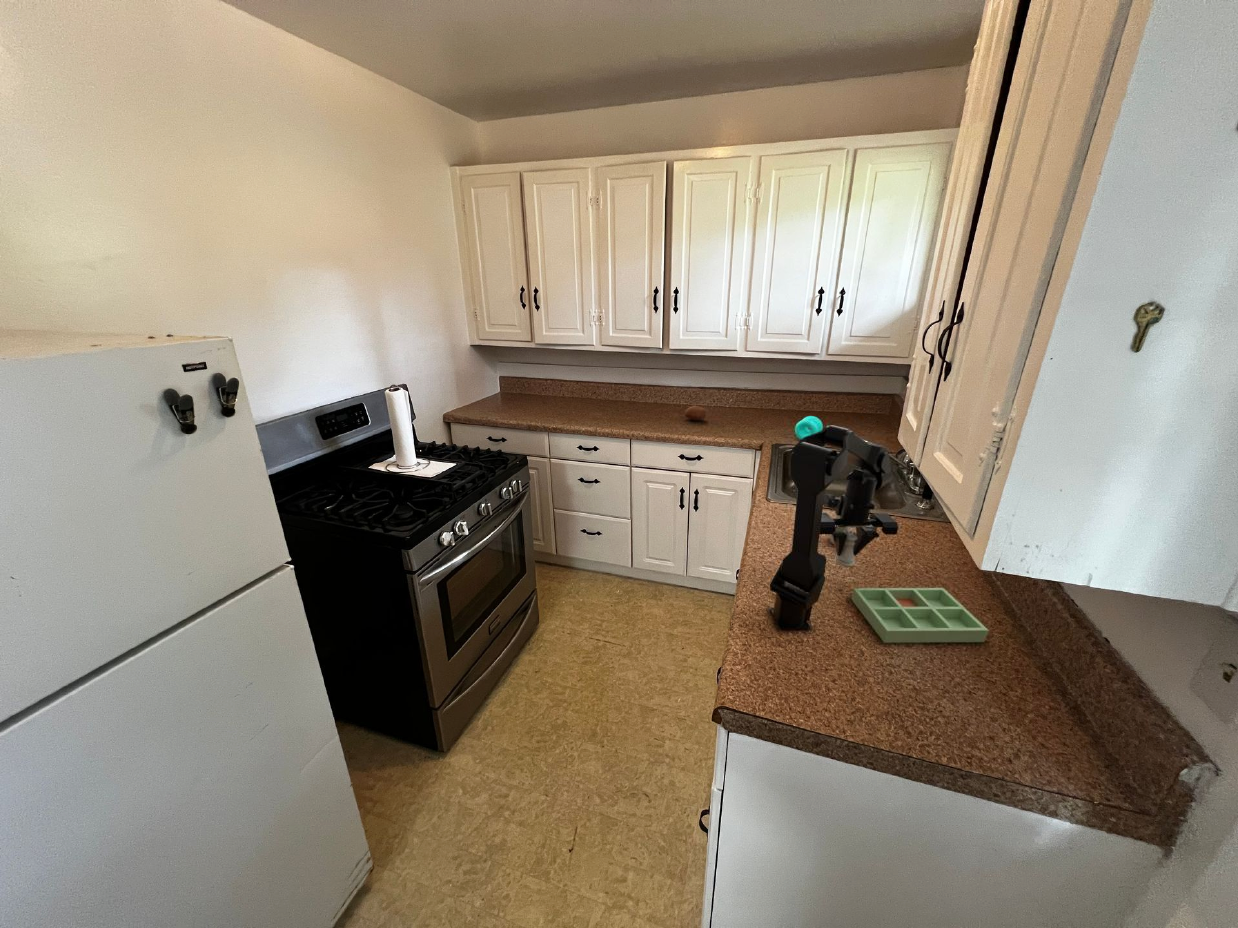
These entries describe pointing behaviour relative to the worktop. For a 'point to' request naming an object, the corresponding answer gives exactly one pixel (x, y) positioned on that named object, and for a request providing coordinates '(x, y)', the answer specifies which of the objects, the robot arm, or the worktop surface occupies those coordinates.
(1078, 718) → the worktop surface
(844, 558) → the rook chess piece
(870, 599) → the grid
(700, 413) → the potato
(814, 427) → the cyan rounded blob
